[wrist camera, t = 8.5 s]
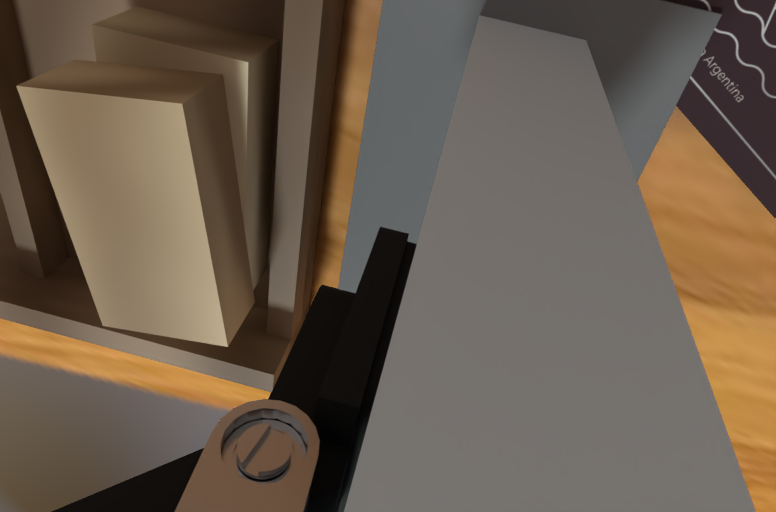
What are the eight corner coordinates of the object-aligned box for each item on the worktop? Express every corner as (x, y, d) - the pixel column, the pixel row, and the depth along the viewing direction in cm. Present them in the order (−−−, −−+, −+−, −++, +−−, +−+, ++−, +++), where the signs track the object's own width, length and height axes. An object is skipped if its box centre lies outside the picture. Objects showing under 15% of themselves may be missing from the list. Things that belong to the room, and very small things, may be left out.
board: (585, 40, 12) (824, 703, 3) (484, 306, 17) (438, 886, 7) (479, 15, 12) (330, 560, 3) (409, 286, 17) (264, 830, 8)
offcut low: (278, 39, 13) (248, 62, 12) (266, 269, 17) (243, 306, 16) (137, 6, 13) (91, 24, 12) (159, 241, 17) (127, 275, 16)
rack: (353, -74, 12) (305, -54, 10) (308, 316, 20) (272, 392, 17) (-261, -213, 13) (-474, -233, 10) (-88, 211, 20) (-185, 267, 17)
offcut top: (222, 74, 12) (182, 103, 10) (255, 302, 16) (227, 347, 14) (74, 59, 12) (16, 85, 11) (140, 284, 16) (102, 325, 15)
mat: (713, 8, 12) (721, 14, 11) (552, 334, 18) (552, 347, 17) (397, -64, 12) (392, -61, 12) (342, 280, 18) (337, 291, 18)
